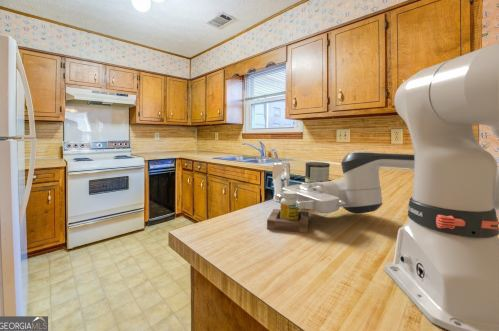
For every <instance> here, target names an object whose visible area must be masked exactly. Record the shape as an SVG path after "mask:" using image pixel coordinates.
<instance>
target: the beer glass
mask: <svg viewBox="0 0 499 331" xmlns="http://www.w3.org/2000/svg"><path fill="white" fill-rule="evenodd" d="M290 178H291V163H290V162H289V163H288V162H273V165H272V181H273V190H274V191H273V192H274V193H273V198H272V199H274V200H273V201H274V202H277V203H281V201H279V200H277V199H276V195H277V194H281V190H282V188H283V187H286V186H290Z"/></svg>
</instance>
